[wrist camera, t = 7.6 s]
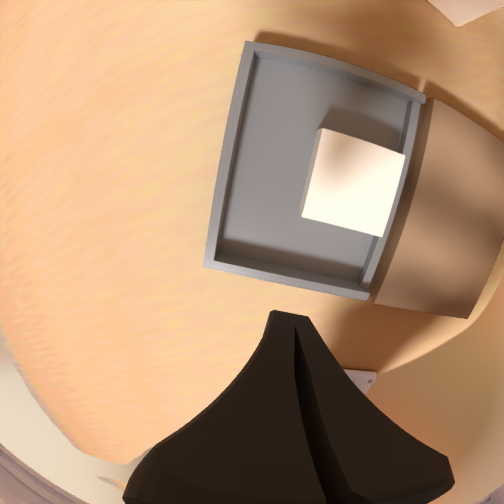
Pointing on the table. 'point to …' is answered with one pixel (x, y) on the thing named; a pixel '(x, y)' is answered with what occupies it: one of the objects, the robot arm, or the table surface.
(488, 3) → the medicine bottle
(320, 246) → the tray
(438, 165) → the board
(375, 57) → the table surface
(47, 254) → the table surface
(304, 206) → the tile
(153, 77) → the table surface
